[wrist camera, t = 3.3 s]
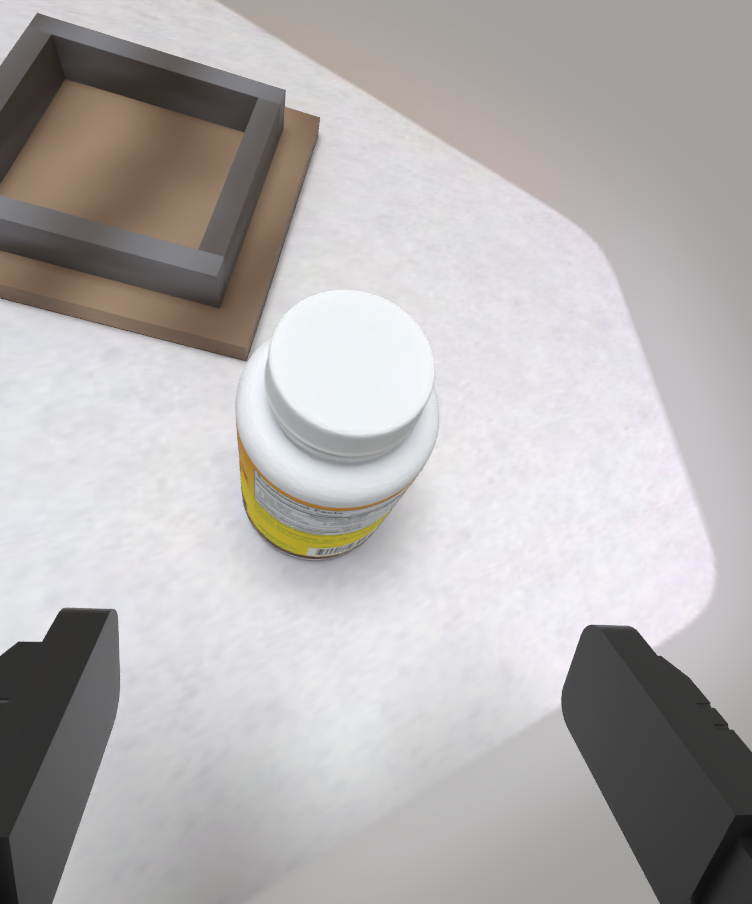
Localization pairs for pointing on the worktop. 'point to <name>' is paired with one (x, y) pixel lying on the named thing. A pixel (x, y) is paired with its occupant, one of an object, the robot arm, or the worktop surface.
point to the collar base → (143, 186)
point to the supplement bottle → (334, 422)
